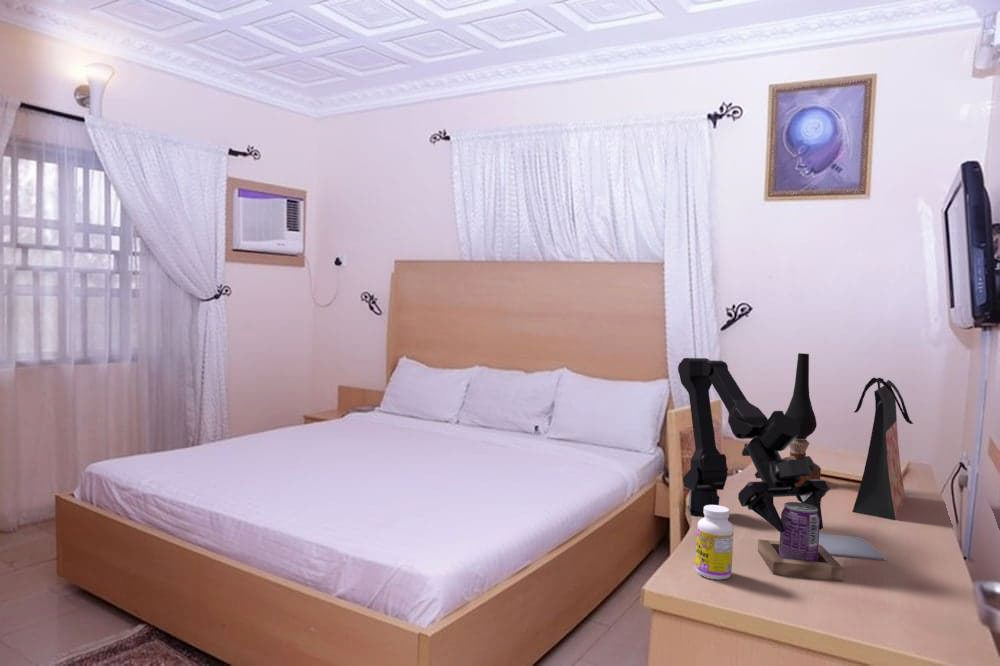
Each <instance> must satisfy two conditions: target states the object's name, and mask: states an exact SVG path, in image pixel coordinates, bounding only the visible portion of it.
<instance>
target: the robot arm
mask: <svg viewBox="0 0 1000 666" xmlns="http://www.w3.org/2000/svg"><path fill="white" fill-rule="evenodd" d="M728 367H729V366H728V364H727V363H726V361H723V360H713V359H712V360H711V359H708V358H706V357H705V358H704V357H684V358H682V360H681V361H680V362H679V364H678V366H677V372H678V375H679V380H680V383H681V385H682V387H684V389H685V390H686V392H687V393H688V399H689V405H690V414H691V422H692V424H691V425H692V431H693V439H694V447H695V448H694V449H695V450H694V452H693V455H692V457H691V459H690V469H689V470H688V471H687V473H686V474H685V475H684V476H683V477H682V481H683V487H685V488H686V489H688V490H689V492H688V493H689V495H688V496H689V497H688V498H689V499H688V505H687V511H688V512H689V514H690V515H691V516H701V517H703V516H704V517H705V515H704V513H703V512H704V506H706V505H719V506H720V496H719V494H718V490H719V491H724V489H725V485H726V482H727V478H728V474H729V473H728V471H729V468H728V464H727V456H726V454H725V453H720V451H719V450H718V448H717V445H716V437H715V430H714V429H715V428H714V422H713V414H712V407H711V405H712V404H711V398H710V389H711V386H713V388H714V389H715V392H716V393H717V394H718V397H719V398H720V400H721V401H722V403H723V405H724V406H725V408H726V410H727V413H728V416H727V417H728V419H727V423H728V425H729V427H730V429H731V432H732V434H733V436H734V437H735V438H736V439H740V440H745V439H746V440H750V441H749V442H748V443H744V445H743V449H742V450H741V451H742V452H741V455H742V456H743V457H748V456H749V457H750V459H751V461H752V463H753V465H754V467H755V470H756V472H755V473H754V476H755V478H756V479H760V480H761V481H760V480H759V481H749V482H748V483H746V484H745V486H744V487H743V488H742V489H741V490H740V491H739V492H738V495H737V497H738V498H737V499H738V502H739V504H740V505H741V507H747V509H748V510H751V511H754V513H756V514H757V515H759V516H760V517H761V518H762V519H764V520H765V521H766V522H767V523H769V524H770V525H771V526H772V527H773V528H775V530H777V531H778V532H779V533H783V532H784V531H785V529H784V526H783V523H782V521H781V516H780V515H779V513H778V510H777V508H776V507H775V504H774V498H781V497H783V498H785V497H796V499H797V500H798V501H799V503H805V504H809V505H813V506H815V507H817V508H818V511H817V513H818V515H819V517H820V526H819V531H822V530H823V529H824V522H823V514H822V507H821V506H822V505H821V504H822V498H823V497H825V496H826V493H828V491H830V488H829V485H828V484H827V482H826V480H825V479H821V478H820V479H808V480H806V481H805V482H804V483H803V484H802V485H801V486H795V483H798V482H799V481H800V480H801V479H800V478H799V477H802V476H805V475H807V476H809V475H811V473H810V472H812V471H815V465H814V463H815V462H814V460H813V459H812V457H811V456H809V455H808V456H807V455H805V456H803V457H800V458H798V459H796V460H782V458H783V457H782V456H781V454H780V452H782V451H785V450H786V449H787V448H788V447H789V444H790V443H791V442H792V441H793V440H794V439H795V438H796V437H797V436H798V435H799V433H800V427H799V424H798V423H797V422H795V421H794V420H793V419H792V418H791V417H789V416H787V415H785V413H784V412H783V410H774V411H772V413H771V414H770V417H769V418H768V417H767V416H766V415H765V414H764V412H763V411H762V410H761V409H760V408H759V407H757V406H755V405H754V404H753V403H751V402H750V401H749V400H748V399H747V397H746V396H745V395H744V393H743V391H742V389H741V388H740V386H739V385H738V383H737V382H736V380H735V378H734V377H733V375H732V374H731V372H730V371H729V368H728Z"/></svg>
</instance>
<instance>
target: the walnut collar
mask: <svg viewBox="0 0 1000 666" xmlns="http://www.w3.org/2000/svg"><path fill="white" fill-rule="evenodd" d="M779 546H780V540H769V539H760V538H759V539H757V552H758V554H759V555H760V557H761V558H762V560H763V561H764V563H765V564H766V566H767V567H768V569H769V571H770V572H771V574H772V575H776V576H786V577H787V576H788V577H795V578H796V577H797V578H798V577H799V578H806V579H807V578H808V579H809V578H810V579H817V580H818V579H819V580H820V579H821V580H827V581H828V580H830V581H831V580H832V581H841V582H843V573H844V567H843V566H842V565H841V564H840V563H839V562H838V561H837V560H836V559H835V558H834V556H831V555H830V554H829V553H828V552H827V551H826V550H825V548H824V547H823V546H822V545H818V561H817V562H812V561H801V560H790V559H782V558H781V557H780V556H779Z"/></svg>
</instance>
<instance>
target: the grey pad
mask: <svg viewBox="0 0 1000 666" xmlns="http://www.w3.org/2000/svg"><path fill="white" fill-rule="evenodd" d="M818 545H822V546H823V547H824V548H825V550H826V551H827V552H828V553H829V554H830V555H831V556H832V557H844V558H845V557H846V558H853V559H867V560H878V561H886V557H884V556H883V555H882V554H881V553H880V552H879V551H878V550H876V549H875V548H874V547H873V546H871V545H870V543H868V542H867V541H866V540H865V539H863V537H859V536H850V535H838V534H828V533H827V534H824V533H819V544H818Z"/></svg>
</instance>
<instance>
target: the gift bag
mask: <svg viewBox="0 0 1000 666" xmlns="http://www.w3.org/2000/svg"><path fill="white" fill-rule="evenodd" d="M876 383H877V389H876V390H874V391H873V392H874V400H875V405H874V407H875V409H874V410H875V411H874V419H873V424H872V430H871V435H870V441H869V446H868V451H867V457H866V461H865V465H864V470H863V473H862V477H861V481H860V485H859V488H858V491H857V496H856V498H855V502H854V506H853V508H852V509H853V510H852V513H855V514H861V515H862V514H863V515H866V516H873V517H876V516H877V517H876V518H881V517H882V518H881V519H888V520H891V521H892V520H893V521H896V520H897V518H898V516H899V514H900V512H901V510H902V507H903V505H904V502H905V500H906V499H907V498H906V493H905V486H904V481H903V480H904V479H903V474H902V473H903V472H902V467H901V461H900V450H899V449H900V448H899V447H900V446H899V435H898V421H897V420H898V419H897V407H898V408H899V409H898V410H899V411H900V413H901V416H902V417H903V419H904V420H905V422H907V423H908V424H909V425H914V422H913V421H911V419H910V417H909V414H908V409H907V407H906V404H905V401H904V398H903V396H902V394H901V393H900V390H899V389H898V388H897V386H896V385H895V384H894V382H892V381H891V380H890V379H888V380H886V381H885V379H883V378H882V377H877V378H876V377H872V378H871V379H870V380H869V381H868V382H867V383H866V384H865V386H864V389H863V391H862V392H861V396H860V398H859V400H858V403H857V406H856V409H855V410H854V411H853V413H858V412H859V411H860V410H861V407H862V405H863V402H864V398H865V396H866V393H867V391H868V390H869V388H871V387H872V386H873V385H874V384H876ZM881 384H882V385H883V386H881ZM896 394H897V395H896ZM897 396H898V398H897ZM898 399H899V400H900V401H899V400H898ZM900 403H901V404H900ZM905 498H906V499H905ZM900 509H901V510H900Z"/></svg>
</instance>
